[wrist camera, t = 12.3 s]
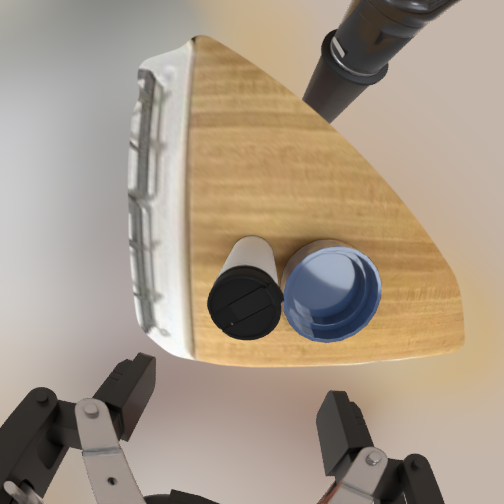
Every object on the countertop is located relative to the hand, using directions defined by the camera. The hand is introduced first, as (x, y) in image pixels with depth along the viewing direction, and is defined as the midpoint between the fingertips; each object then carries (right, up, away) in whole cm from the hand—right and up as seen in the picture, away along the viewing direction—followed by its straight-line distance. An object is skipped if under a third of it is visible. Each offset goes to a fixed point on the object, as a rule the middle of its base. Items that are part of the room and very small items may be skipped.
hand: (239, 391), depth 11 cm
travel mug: (+1, +6, +30) cm, 31 cm away
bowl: (+12, +1, +30) cm, 33 cm away
